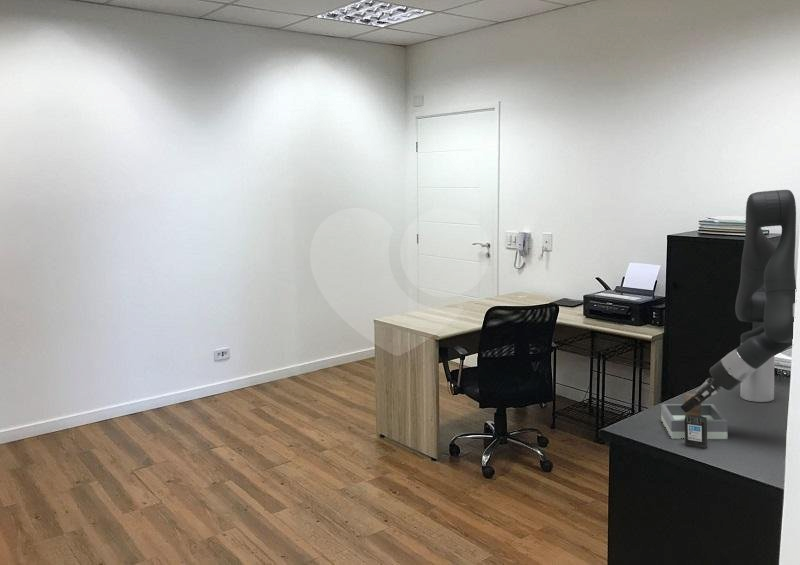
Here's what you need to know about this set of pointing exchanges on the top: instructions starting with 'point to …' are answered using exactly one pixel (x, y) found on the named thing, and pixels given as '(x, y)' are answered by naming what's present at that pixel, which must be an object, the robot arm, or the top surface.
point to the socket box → (676, 416)
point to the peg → (696, 409)
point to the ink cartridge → (695, 431)
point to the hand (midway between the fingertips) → (685, 407)
